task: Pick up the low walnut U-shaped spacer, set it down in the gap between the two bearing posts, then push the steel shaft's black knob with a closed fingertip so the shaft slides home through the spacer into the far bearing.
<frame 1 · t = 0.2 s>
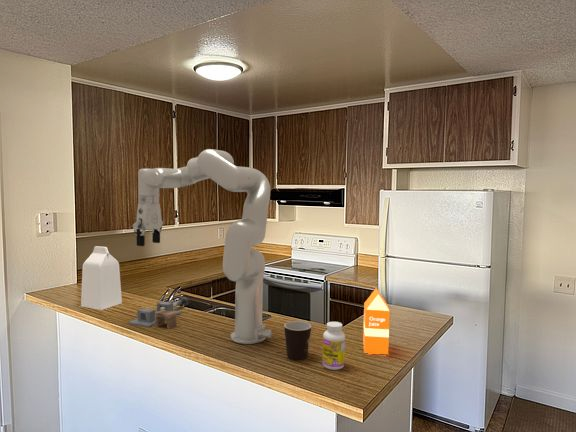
hand: (148, 244, 160), 30 cm above the counter, fingers open, 9 cm apart
supplement bottle: (333, 366, 123), on the counter
orange juice: (375, 350, 136), on the counter
shaft: (173, 304, 175), point 2 cm above the counter, slide at 0.0 cm
spacer: (165, 326, 156), on the counter
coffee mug: (300, 355, 131), on the counter
bearing block: (156, 317, 165), on the counter
milk: (101, 305, 182), on the counter
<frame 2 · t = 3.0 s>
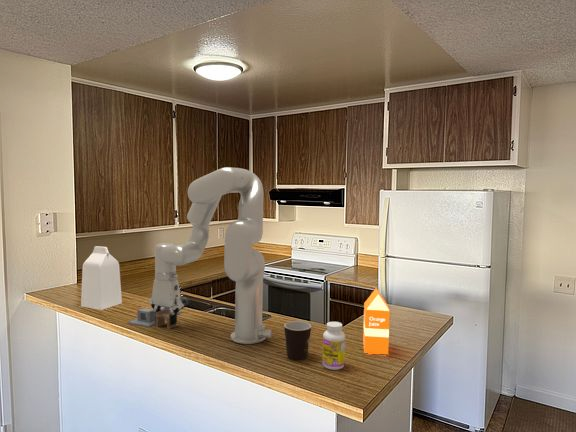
hand: (165, 322, 155), 1 cm above the counter, fingers closed on spacer, 6 cm apart
spacer: (165, 326, 156), on the counter, touching gripper
everything else where it was.
when the fingers open (3 cm above the counter, at t = 7.4 s): spacer drops 1 cm, resting on bearing block.
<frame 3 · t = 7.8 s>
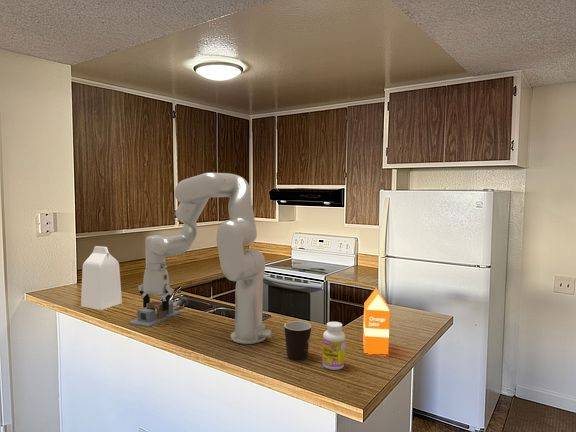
hand: (155, 308, 165), 4 cm above the counter, fingers open, 9 cm apart
spacer: (156, 316, 165), point 1 cm above the counter, touching bearing block
everything else where it was.
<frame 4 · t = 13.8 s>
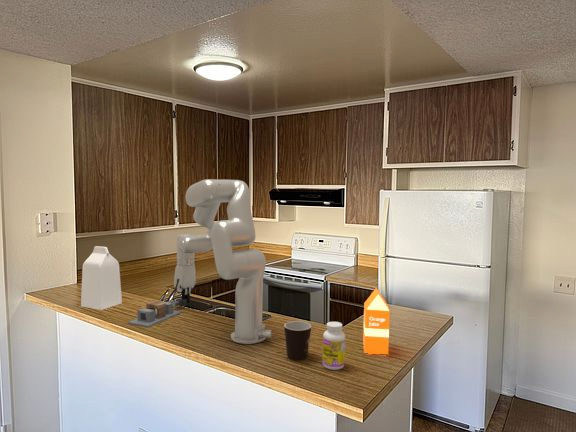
hand: (185, 302, 182), 1 cm above the counter, fingers closed
shaft: (171, 305, 174), point 2 cm above the counter, slide at 1.6 cm, touching gripper
everything else where it was.
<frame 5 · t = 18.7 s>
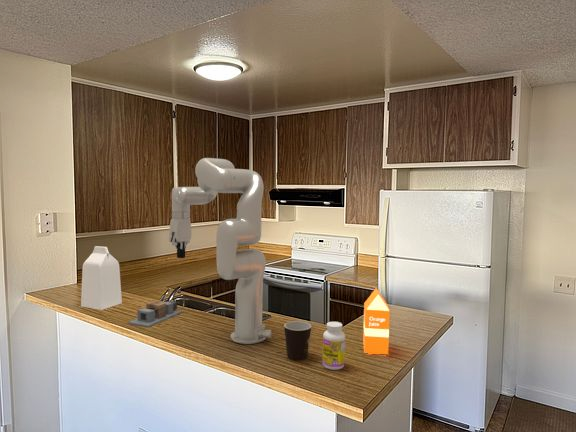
hand: (181, 257, 178), 22 cm above the counter, fingers closed
shaft: (161, 309, 168), point 2 cm above the counter, slide at 8.0 cm
everything else where it was.
at the end: shaft slide at 8.0 cm; spacer 0.1 cm off-centre on the bearing block, point 0.6 cm above the bearing block's base; spacer tilted 0° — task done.
